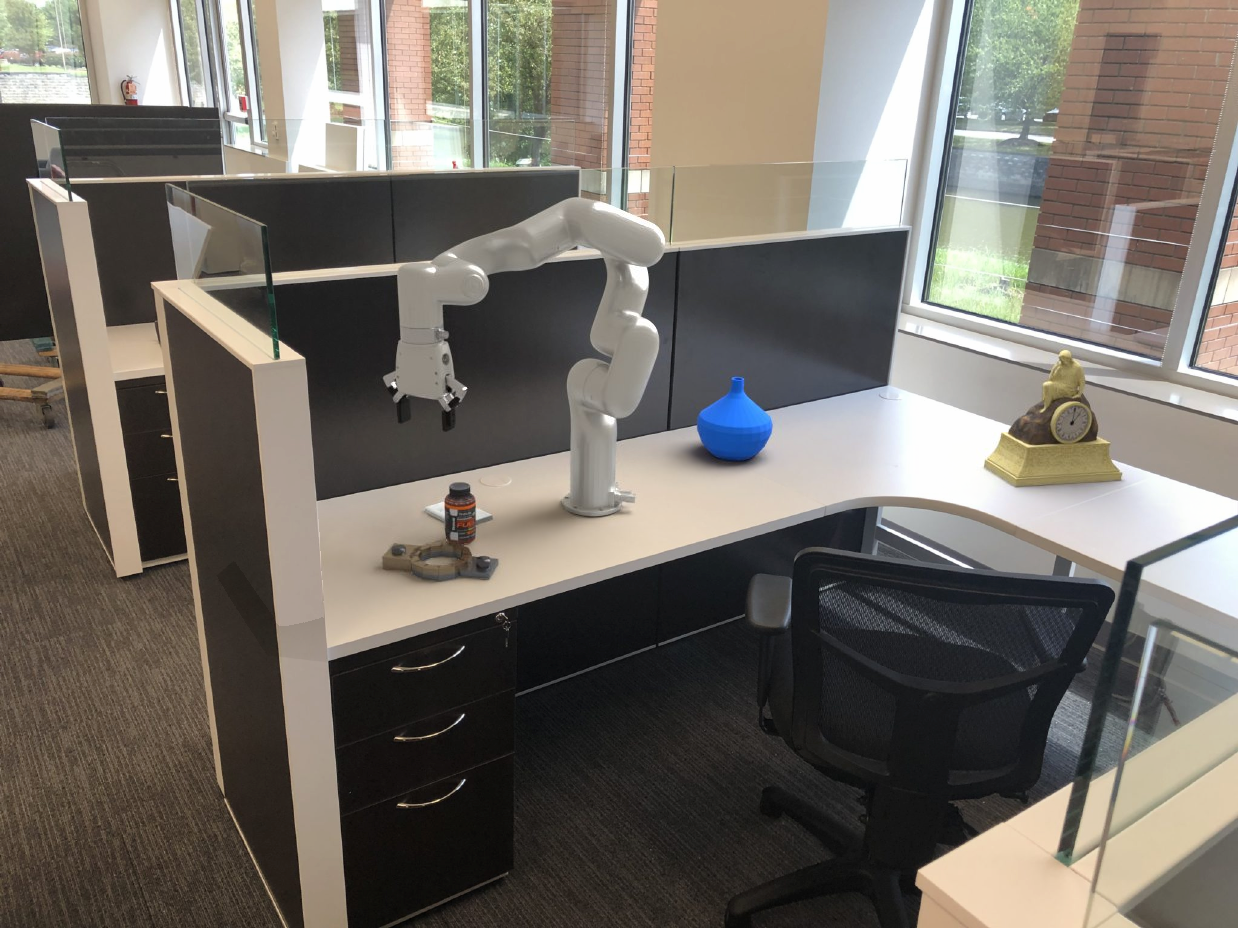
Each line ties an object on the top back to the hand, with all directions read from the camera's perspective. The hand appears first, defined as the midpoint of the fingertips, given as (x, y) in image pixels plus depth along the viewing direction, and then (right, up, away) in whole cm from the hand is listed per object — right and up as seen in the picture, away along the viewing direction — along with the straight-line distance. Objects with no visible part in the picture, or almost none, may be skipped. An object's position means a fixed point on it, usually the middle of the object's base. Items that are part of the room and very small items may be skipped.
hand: (426, 425), depth 178 cm
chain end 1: (+1, -26, 0) cm, 26 cm away
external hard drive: (+2, -18, +21) cm, 28 cm away
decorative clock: (+139, -10, +54) cm, 149 cm away
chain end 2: (+5, -26, -1) cm, 27 cm away
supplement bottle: (+5, -22, +10) cm, 25 cm away
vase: (+63, -5, +60) cm, 88 cm away
